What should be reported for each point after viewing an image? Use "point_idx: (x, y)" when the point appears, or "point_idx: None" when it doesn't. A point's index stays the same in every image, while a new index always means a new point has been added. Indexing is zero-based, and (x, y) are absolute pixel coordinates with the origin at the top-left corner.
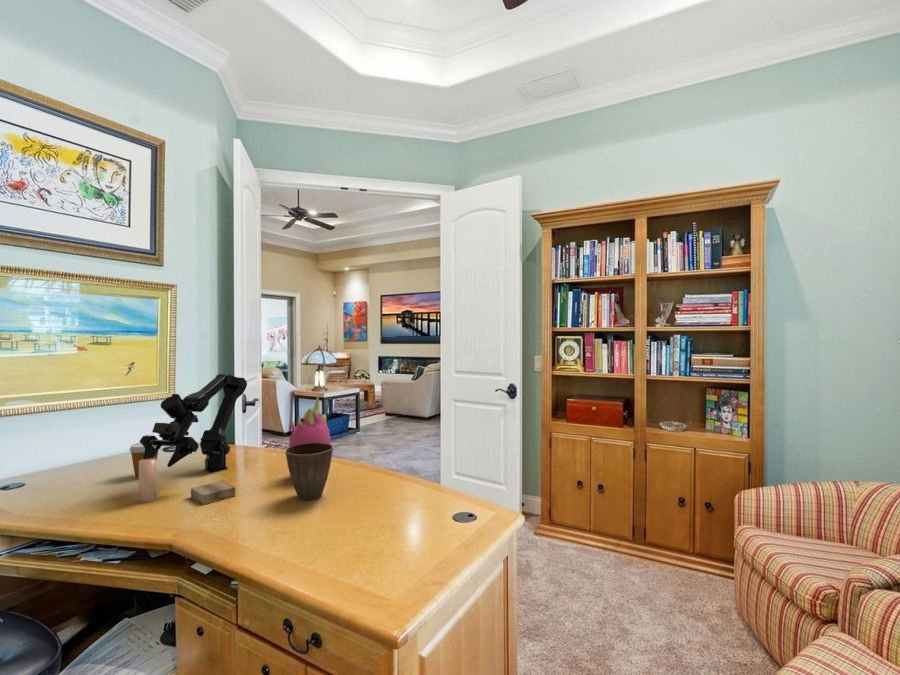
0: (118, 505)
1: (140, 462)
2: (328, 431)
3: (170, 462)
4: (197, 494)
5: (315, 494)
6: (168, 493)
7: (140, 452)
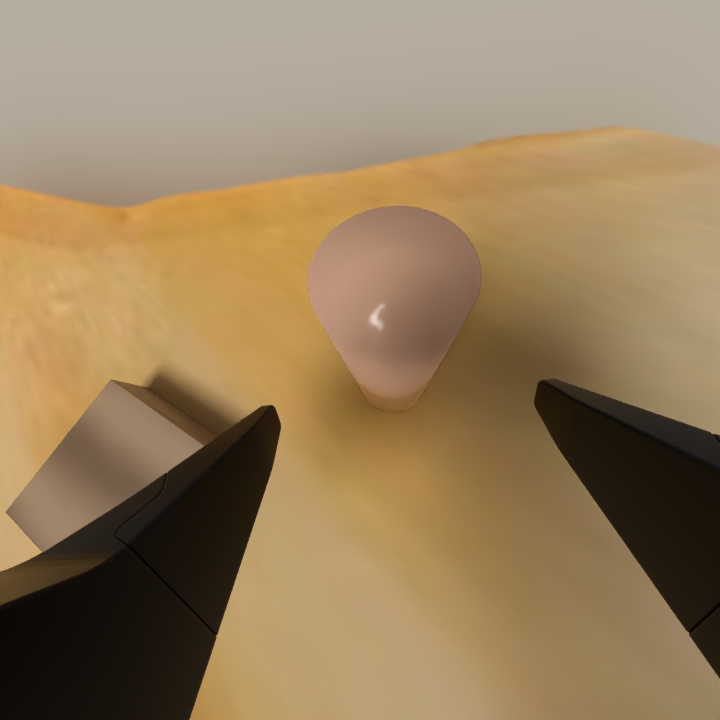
0: None
1: (397, 210)
2: None
3: (240, 423)
4: (159, 409)
5: None
6: (374, 473)
7: None
